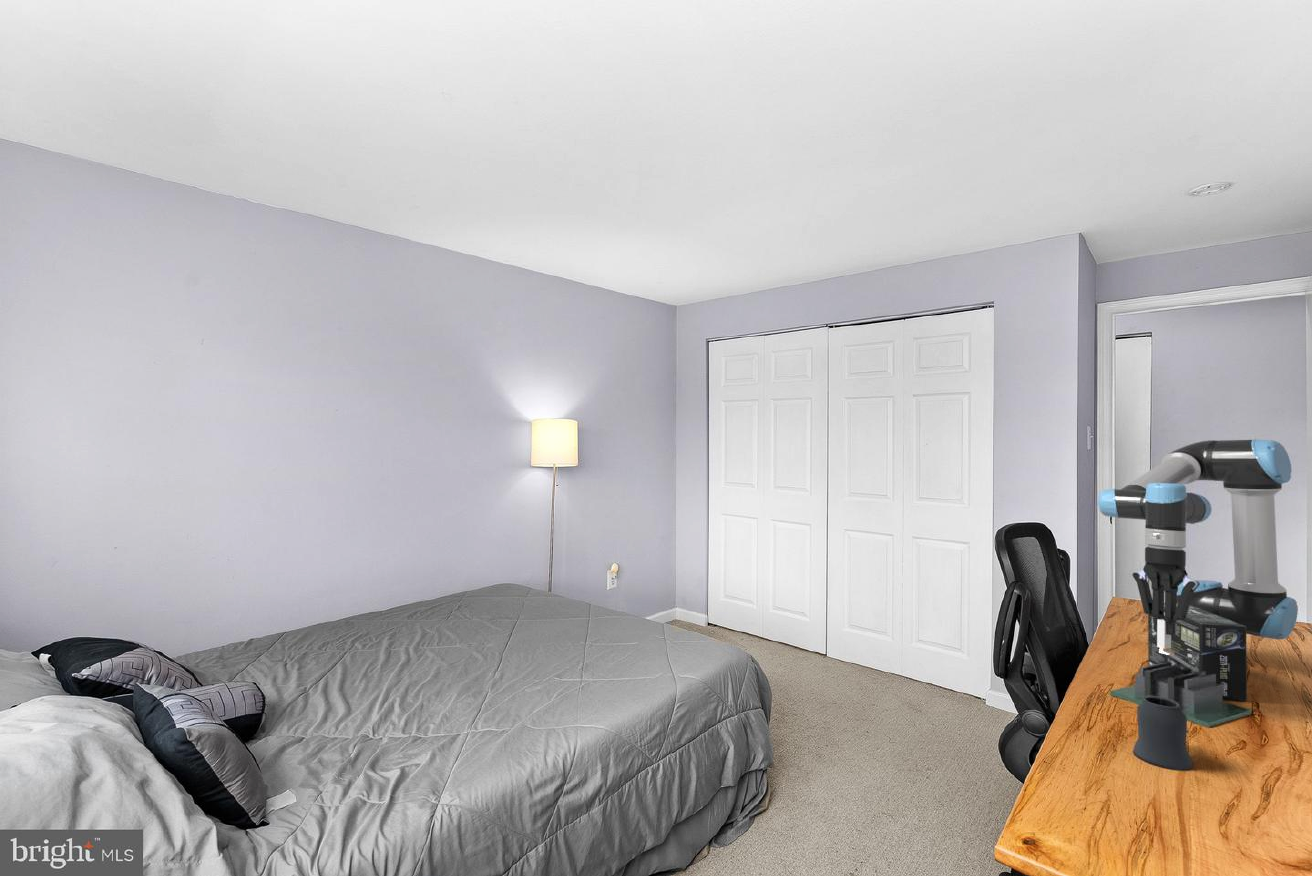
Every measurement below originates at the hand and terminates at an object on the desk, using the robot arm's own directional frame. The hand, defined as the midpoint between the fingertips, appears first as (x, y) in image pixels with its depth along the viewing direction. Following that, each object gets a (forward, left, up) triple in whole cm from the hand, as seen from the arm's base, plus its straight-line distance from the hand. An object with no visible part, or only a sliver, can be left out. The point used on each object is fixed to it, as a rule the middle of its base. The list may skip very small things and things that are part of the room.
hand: (1164, 647), depth 146 cm
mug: (+28, +14, -14) cm, 35 cm away
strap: (-7, 0, -5) cm, 8 cm away
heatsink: (-5, 0, -14) cm, 15 cm away
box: (-26, -6, -15) cm, 30 cm away
